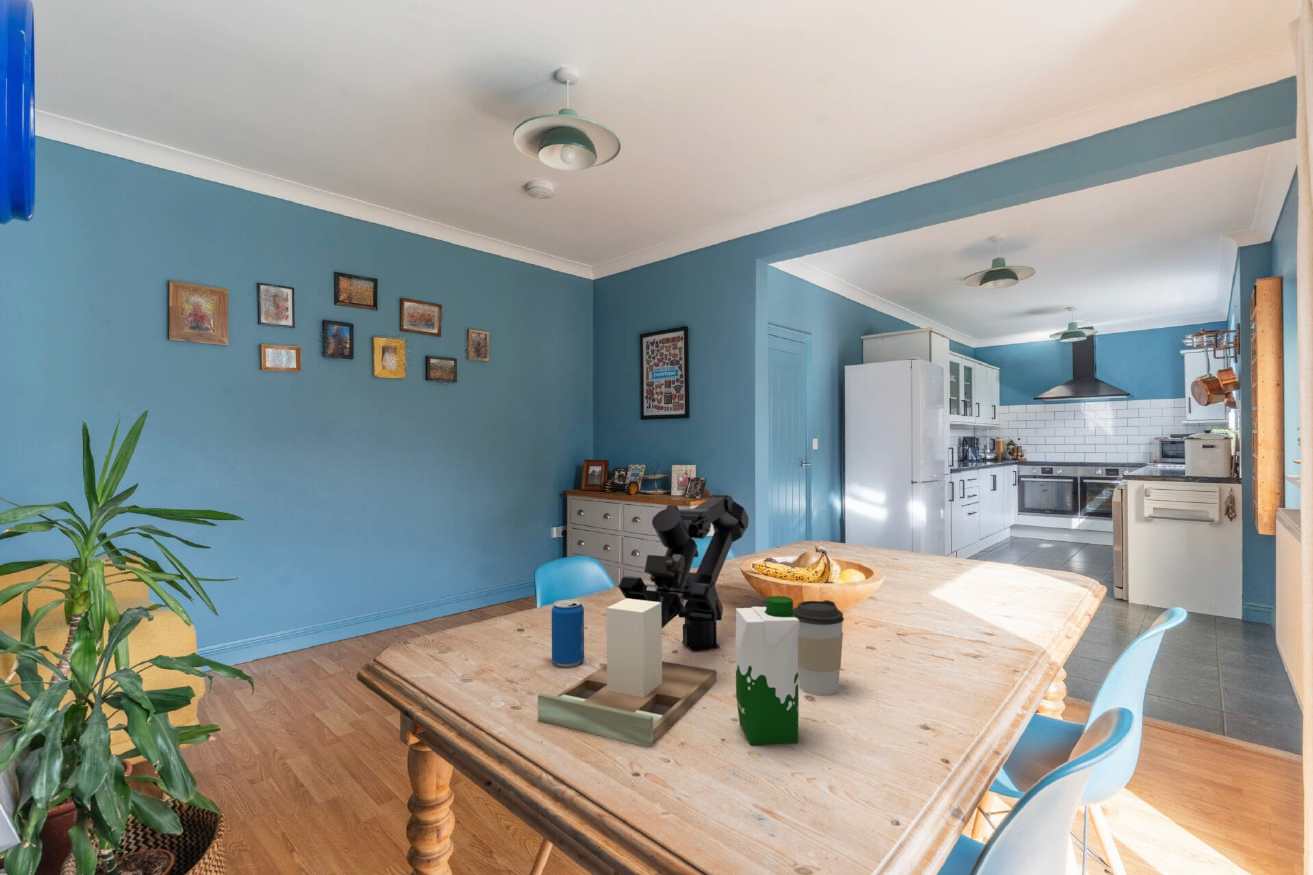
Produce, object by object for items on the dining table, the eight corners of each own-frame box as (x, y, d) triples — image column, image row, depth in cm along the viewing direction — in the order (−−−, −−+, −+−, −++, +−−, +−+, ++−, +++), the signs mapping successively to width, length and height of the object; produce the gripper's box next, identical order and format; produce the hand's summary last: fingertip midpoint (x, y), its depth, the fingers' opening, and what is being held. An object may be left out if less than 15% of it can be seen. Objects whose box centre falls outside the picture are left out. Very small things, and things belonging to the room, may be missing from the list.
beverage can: (578, 669, 117) (577, 607, 117) (546, 667, 118) (546, 606, 118) (588, 657, 123) (588, 599, 124) (558, 656, 125) (558, 598, 125)
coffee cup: (816, 701, 101) (815, 612, 101) (782, 683, 109) (781, 600, 109) (856, 691, 105) (854, 605, 105) (819, 674, 113) (818, 594, 113)
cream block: (627, 676, 108) (626, 598, 108) (662, 682, 105) (661, 602, 105) (607, 690, 102) (606, 607, 102) (643, 697, 99) (642, 612, 99)
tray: (622, 664, 119) (621, 644, 119) (716, 681, 110) (716, 659, 110) (537, 720, 95) (537, 695, 95) (649, 747, 86) (649, 719, 86)
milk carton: (806, 745, 86) (804, 606, 87) (744, 748, 85) (742, 608, 86) (787, 718, 95) (786, 591, 95) (731, 721, 94) (730, 593, 95)
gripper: (622, 535, 119) (593, 603, 109) (710, 540, 111) (687, 615, 101) (641, 567, 126) (615, 635, 116) (725, 575, 118) (705, 648, 107)
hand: (653, 633), depth 110 cm, fingers closed
